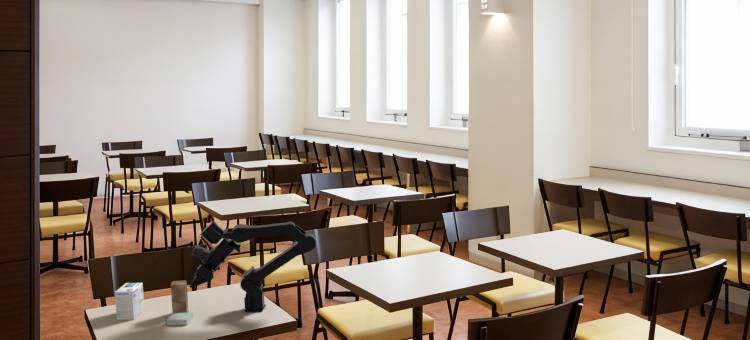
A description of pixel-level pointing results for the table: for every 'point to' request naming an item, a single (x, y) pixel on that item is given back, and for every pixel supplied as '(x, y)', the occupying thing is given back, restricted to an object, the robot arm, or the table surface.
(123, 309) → the light bulb box
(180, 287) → the pillar
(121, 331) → the table surface
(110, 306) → the table surface
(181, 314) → the plinth
